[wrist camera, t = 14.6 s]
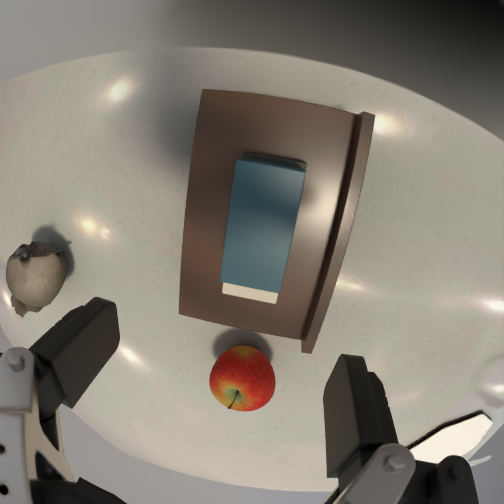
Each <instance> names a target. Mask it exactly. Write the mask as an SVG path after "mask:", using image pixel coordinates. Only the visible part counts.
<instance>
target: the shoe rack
mask: <svg viewBox="0 0 504 504" xmlns="http://www.w3.org/2000/svg"><path fill="white" fill-rule="evenodd" d="M374 120H375V115H374V114H370V113H367V112H362V113H360V114H358V115H357V114H353V113H350V112H346V111H342V110H338V109H334V108H330V107H326V106H321V105H317V104H312V103H307V102H302V101H297V100H292V99H286V98H280V97H274V96H267V95H260V94H252V93H244V92H234V91H223V90H209V89H202V94H201V99H200V105H199V111H198V117H197V123H196V130H195V136H194V143H193V150H192V157H191V165H190V173H189V181H188V190H187V200H186V209H185V220H184V231H183V244H182V258H181V275H180V295H179V314H181V315H185V316H189V317H193V318H197V319H201V320H205V321H209V322H214V323H218V324H222V325H227V326H231V327H236V328H241V329H245V330H250V331H255V332H260V333H265V334H270V335H276V336H281V337H287V338H293V339H299V340H301V346H302V353H309V354H311V353H312V351H313V348H314V345H315V343H316V340H317V337H318V335H319V332H320V329H321V326H322V323H323V321H324V318H325V315H326V312H327V309H328V306H329V303H330V300H331V297H332V294H333V291H334V288H335V284H336V281H337V278H338V275H339V271H340V268H341V265H342V261H343V258H344V254H345V251H346V247H347V244H348V240H349V236H350V233H351V229H352V225H353V221H354V217H355V213H356V209H357V205H358V201H359V197H360V192H361V188H362V183H363V179H364V174H365V169H366V165H367V160H368V154H369V149H370V144H371V138H372V132H373V126H374ZM243 152H251V153H258V154H264V155H270V156H275V157H281V158H286V159H291V160H296V161H301V162H306V163H307V165H306V171H305V172H306V175H305V180H304V185H303V190H302V196H301V200H300V205H299V210H298V215H297V220H296V225H295V229H294V234H293V239H292V243H291V248H290V252H289V257H288V261H287V266H286V270H285V275H284V279H283V283H282V288H281V292H280V293H279V297H278V299H277V302H276V304H273V303H268V302H263V301H258V300H253V299H248V298H243V297H238V296H234V295H229V294H224V293H222V289H223V282H220V274H221V266H222V258H223V251H224V243H225V236H226V228H227V221H228V214H229V207H230V200H231V193H232V186H233V179H234V173H235V166H236V161H237V160H239V159H242V156H243Z"/></svg>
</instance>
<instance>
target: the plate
mask: <svg viewBox="0 0 504 504" xmlns="http://www.w3.org/2000/svg"><path fill="white" fill-rule="evenodd" d="M492 423H493V422H492V421H491V420H490V419H489V418H488V417H486V416H485V415H484V414H479V415H476V416H474V417H471V418H469V419H466V420H463V421H461V422H458V423H455V424H452V425H450V426H447V427H444V428H442V429H440V430H439V431H437V432H436V433H434V434H433V435H431V436H430V437H428V438H427V439H425V440H424V441H422V442H421V443H419V444H417V445H416V446H414V447H412V448H411V449H409V450H410V451H411V453H412V454H413V456H414V458H415V459H416V460H420V461H425V462H431V463H437V464H438V463H439V462H440V461H442V460H443V459H444V458H445V457H447V456H450V455H458V456H462V455H464V454H465V453H467V452H468V451H469V450H471V449H472V448H474V447H475V446H476V445H477V444H478V443H479V441H480V440H481V439H482V437H483V436H484V435H485V434H486V432H487V431H488V429H489V428H490V427H491V425H492Z"/></svg>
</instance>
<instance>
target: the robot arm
mask: <svg viewBox="0 0 504 504" xmlns="http://www.w3.org/2000/svg"><path fill="white" fill-rule="evenodd" d="M119 341H120V333H119V325H118V317H117V308H116V304H115V303H114V302H112V301H109V300H106V299H103V298H100V297H94V298H93V299H92V300H90V301H89V302H88V303H87V304H86V305H85V306H80V307H78V308H75V309H73V310H71V311H70V312H68V313H67V314H66V315H65V316H64V317H63V318H62V320H59V321H58V322H57V323H56V324H55V326H53V327H52V328H50V329H49V330H48V331H47V332H46V333H45V334H44V335H43V336H42V337H41V338H40V339H39V340H38V341H36V342H35V343H34V344H33V345H32V346H31V347H30V348H29V349H26V348H23V347H15V348H11V349H9V350H7V351H6V352H5V353H0V504H127V503H125V502H124V501H122V500H121V499H120V498H118V497H117V496H115V495H114V494H112V493H110V492H108V491H106V490H103V489H101V488H99V487H98V486H96V485H94V484H92V483H90V482H88V481H86V480H84V479H82V478H81V477H80V478H79V479H78V481H77V483H76V482H74V478H73V475H72V472H71V469H70V467H69V465H68V463H67V460H66V458H65V454H64V448H63V441H62V434H61V425H60V416H59V410H58V407H59V406H60V404H61V403H62V404H64V405H66V406H68V407H69V408H71V409H72V408H73V407H74V406H75V404H76V403H77V402H78V400H79V399H80V397H81V396H82V395H83V393H84V392H85V391H86V389H87V388H88V387H89V385H90V384H91V383H92V381H93V380H94V379H95V377H96V376H97V375H98V373H99V372H100V371H101V369H102V368H103V367H104V365H105V364H106V363H107V361H108V360H109V359H110V357H111V356H112V355H113V354H114V352H115V351H116V349H117V347H118V345H119ZM385 395H386V394H385V390H384V387H383V384H382V382H381V381H380V379H379V378H378V377H377V375H376V374H375V373H374V372H368V371H367V367H366V363H365V360H364V358H363V357H362V356H355V355H347V354H341V355H340V356H339V358H338V360H337V362H336V365H335V367H334V369H333V371H332V373H331V375H330V377H329V379H328V381H327V383H326V386H325V390H324V395H323V405H324V420H325V438H326V462H327V478H338V482H339V485H338V486H337V487H336V488H335V489H334V491H333V492H332V493H331V494H330V495H329V496H328V497H327V498H326V500H325V501H324V502H323V503H322V504H479V502H478V497H477V492H476V487H475V483H474V480H473V475H472V471H471V468H470V465H469V463H468V462H467V461H466V460H465V459H464V458H463V457H461V456H458V455H450V456H447V457H445V458H444V459H443V460H442V461H440V462H439V463H438V464H437V463H431V462H425V461H420V460H416V459H415V458H414V456H413V454H412V453H411V451H410V450H409V449H408V448H406V447H405V446H403V445H400V444H399V443H398V439H397V435H396V431H395V427H394V423H393V419H392V415H391V412H390V408H389V407H388V401H387V397H385Z"/></svg>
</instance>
